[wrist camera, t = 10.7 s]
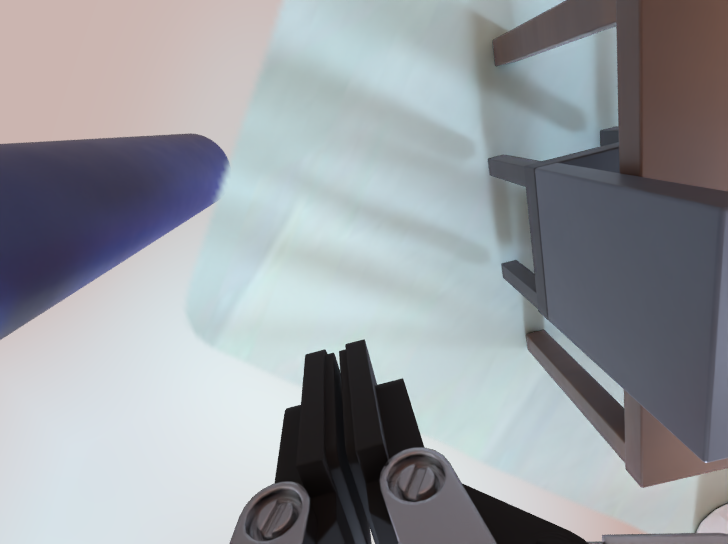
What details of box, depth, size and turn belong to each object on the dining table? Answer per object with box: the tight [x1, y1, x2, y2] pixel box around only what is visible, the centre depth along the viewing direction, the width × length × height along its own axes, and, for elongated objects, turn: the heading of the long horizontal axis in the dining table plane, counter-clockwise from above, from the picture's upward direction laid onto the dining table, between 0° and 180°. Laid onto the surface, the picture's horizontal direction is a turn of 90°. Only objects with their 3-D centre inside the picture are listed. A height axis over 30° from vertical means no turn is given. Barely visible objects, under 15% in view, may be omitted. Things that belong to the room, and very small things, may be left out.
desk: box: [493, 0, 728, 488], centre depth 18 cm, size 12×18×10 cm, turn 13°
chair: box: [488, 126, 728, 463], centre depth 16 cm, size 7×7×14 cm
